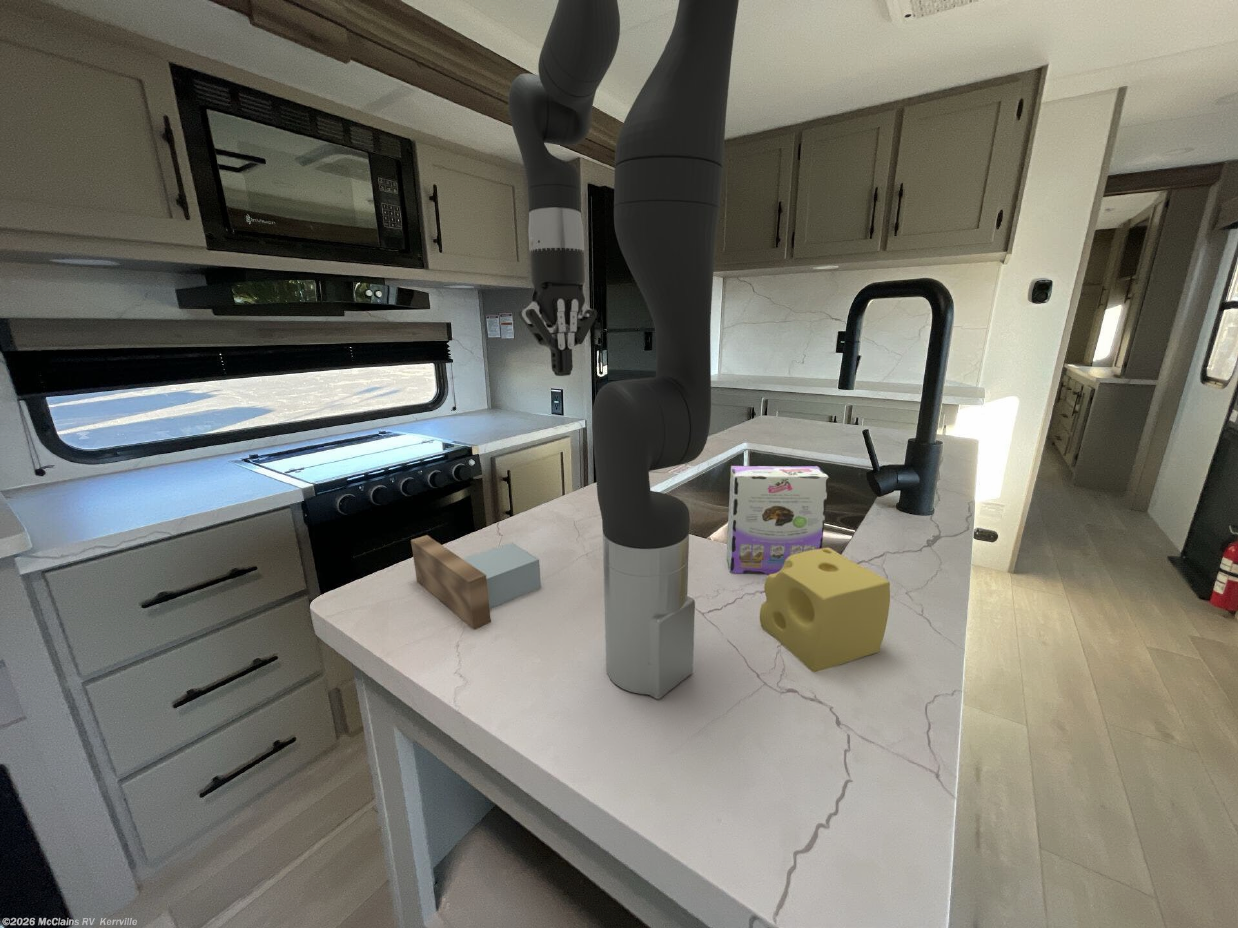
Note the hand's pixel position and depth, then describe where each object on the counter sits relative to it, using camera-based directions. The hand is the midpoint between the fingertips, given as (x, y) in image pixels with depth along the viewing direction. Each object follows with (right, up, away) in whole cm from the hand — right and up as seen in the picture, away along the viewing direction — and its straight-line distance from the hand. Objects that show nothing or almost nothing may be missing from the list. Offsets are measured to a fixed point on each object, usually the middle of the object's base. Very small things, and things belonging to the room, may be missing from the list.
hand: (562, 375), depth 74 cm
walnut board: (-16, -33, -1) cm, 37 cm away
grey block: (-10, -32, +1) cm, 34 cm away
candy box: (+33, -30, +7) cm, 45 cm away
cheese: (+33, -35, -11) cm, 50 cm away
